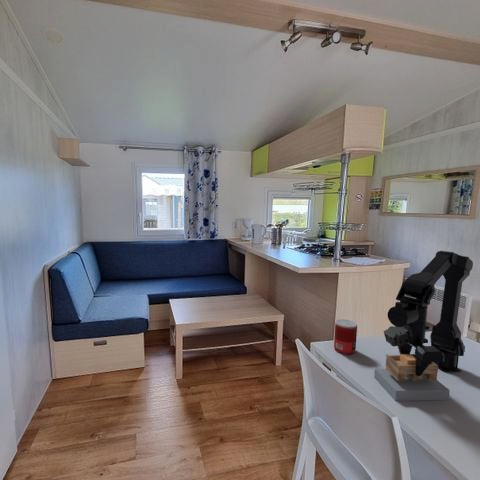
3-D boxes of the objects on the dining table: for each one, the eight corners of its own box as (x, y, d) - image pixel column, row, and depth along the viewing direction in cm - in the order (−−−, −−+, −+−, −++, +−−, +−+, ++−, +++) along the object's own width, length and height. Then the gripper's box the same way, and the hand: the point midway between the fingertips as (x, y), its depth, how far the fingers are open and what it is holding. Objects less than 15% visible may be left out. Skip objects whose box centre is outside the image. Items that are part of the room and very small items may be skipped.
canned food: (357, 356, 112) (359, 327, 111) (334, 353, 113) (336, 325, 112) (353, 347, 119) (355, 320, 118) (332, 344, 121) (334, 318, 120)
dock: (421, 376, 98) (422, 368, 98) (448, 399, 86) (449, 390, 86) (374, 377, 97) (374, 368, 97) (395, 400, 86) (396, 390, 85)
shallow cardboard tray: (421, 368, 95) (423, 354, 95) (436, 380, 89) (438, 365, 88) (385, 368, 94) (386, 355, 94) (397, 380, 88) (398, 366, 87)
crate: (415, 360, 93) (415, 354, 93) (423, 366, 89) (423, 360, 89) (399, 360, 93) (400, 354, 93) (407, 366, 89) (407, 360, 89)
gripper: (373, 309, 99) (370, 354, 100) (408, 333, 80) (403, 388, 82) (406, 309, 99) (402, 354, 101) (448, 332, 81) (442, 387, 82)
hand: (410, 369), depth 91 cm, fingers closed on shallow cardboard tray, 6 cm apart
